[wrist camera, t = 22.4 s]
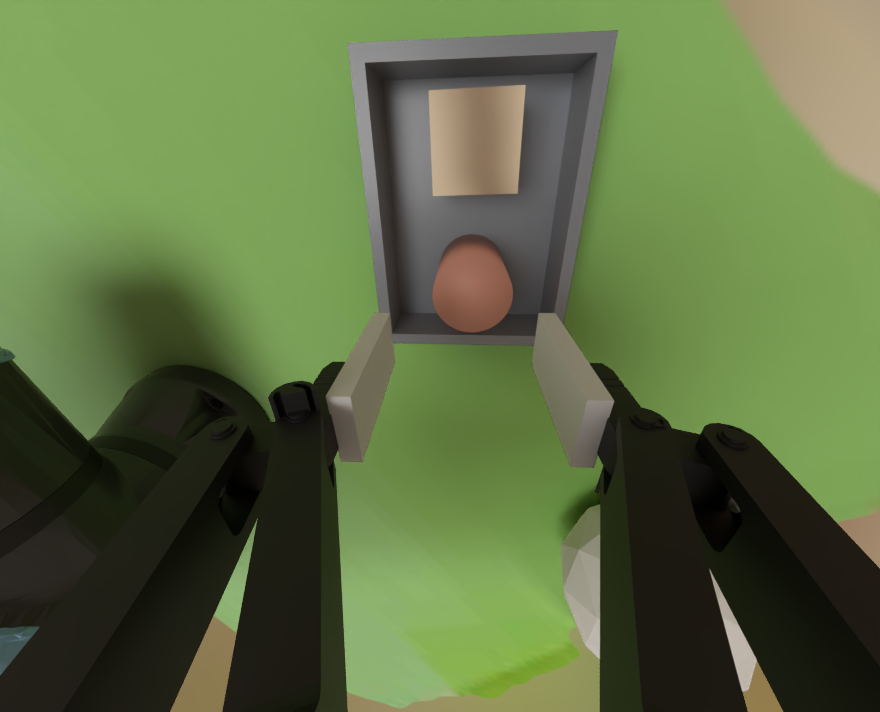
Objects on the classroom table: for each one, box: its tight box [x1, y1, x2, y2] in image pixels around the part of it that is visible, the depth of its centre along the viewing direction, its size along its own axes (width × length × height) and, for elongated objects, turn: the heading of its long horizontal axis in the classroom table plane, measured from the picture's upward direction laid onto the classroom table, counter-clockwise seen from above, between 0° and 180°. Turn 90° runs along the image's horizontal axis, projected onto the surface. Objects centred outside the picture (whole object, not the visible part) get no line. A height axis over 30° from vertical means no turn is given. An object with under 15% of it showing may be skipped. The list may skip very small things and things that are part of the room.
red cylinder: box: [432, 234, 513, 332], centre depth 24 cm, size 5×5×7 cm
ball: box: [561, 500, 757, 692], centre depth 33 cm, size 17×25×24 cm
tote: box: [348, 30, 618, 346], centre depth 23 cm, size 18×14×5 cm
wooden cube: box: [429, 85, 526, 196], centre depth 20 cm, size 5×5×5 cm
